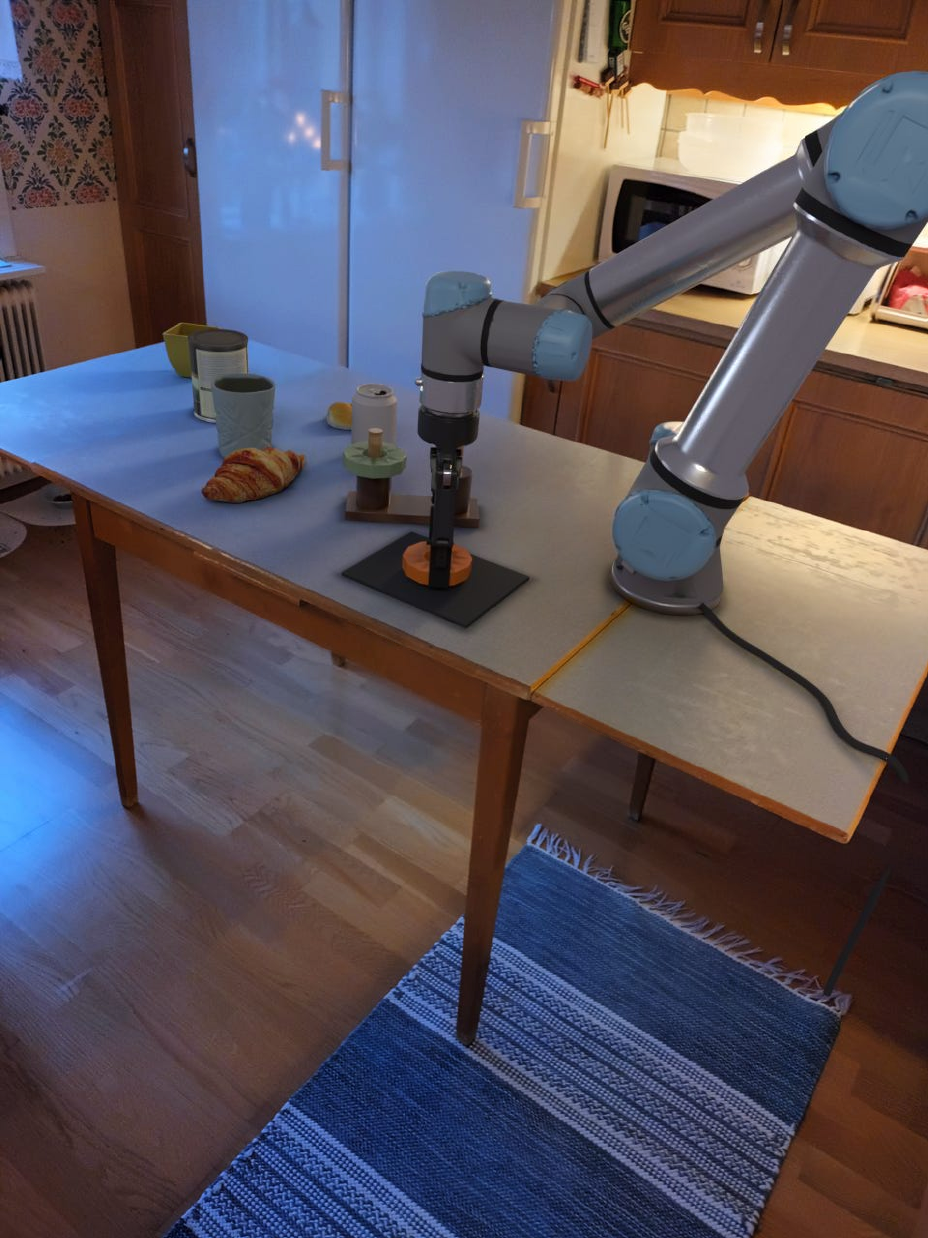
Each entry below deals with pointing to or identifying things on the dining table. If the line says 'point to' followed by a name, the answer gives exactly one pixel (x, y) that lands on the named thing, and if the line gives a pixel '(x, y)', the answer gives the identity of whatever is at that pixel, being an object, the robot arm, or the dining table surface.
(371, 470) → the green disc
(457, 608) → the mat
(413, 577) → the orange disc
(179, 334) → the flower pot
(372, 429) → the peg rack
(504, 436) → the dining table surface
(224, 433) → the grey embossed cup
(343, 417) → the bread roll
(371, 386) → the can
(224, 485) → the croissant
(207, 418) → the coffee can
